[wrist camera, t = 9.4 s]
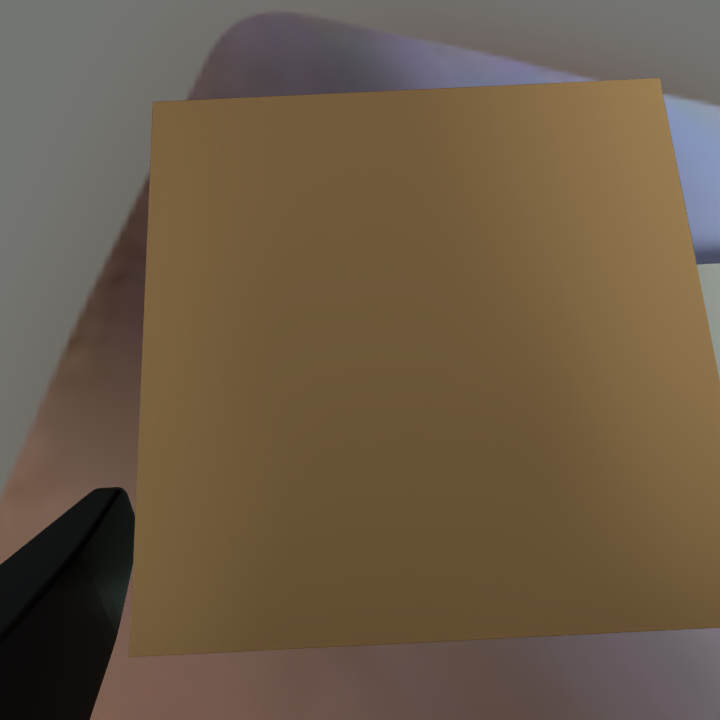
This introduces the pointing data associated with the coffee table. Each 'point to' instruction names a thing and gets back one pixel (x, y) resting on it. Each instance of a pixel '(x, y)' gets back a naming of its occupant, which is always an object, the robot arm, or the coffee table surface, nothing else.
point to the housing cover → (422, 373)
